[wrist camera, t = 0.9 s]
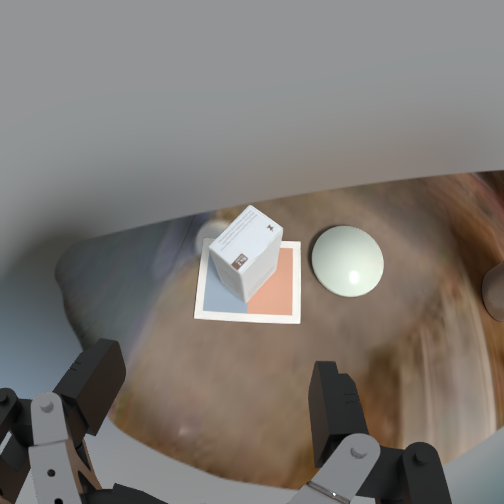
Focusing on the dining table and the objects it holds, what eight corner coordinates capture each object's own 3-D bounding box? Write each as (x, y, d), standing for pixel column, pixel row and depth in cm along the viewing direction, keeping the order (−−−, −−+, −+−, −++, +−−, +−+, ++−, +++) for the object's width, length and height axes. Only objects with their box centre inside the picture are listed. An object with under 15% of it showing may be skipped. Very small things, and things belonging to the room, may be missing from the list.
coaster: (377, 230, 41) (379, 228, 40) (384, 297, 37) (386, 296, 36) (310, 226, 41) (311, 223, 40) (311, 296, 37) (313, 295, 36)
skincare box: (251, 251, 40) (249, 199, 29) (278, 271, 38) (286, 225, 27) (219, 285, 38) (203, 243, 27) (246, 307, 37) (241, 274, 25)
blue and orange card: (300, 242, 40) (300, 241, 40) (300, 323, 36) (300, 323, 36) (203, 238, 41) (203, 237, 41) (194, 318, 36) (194, 318, 36)
